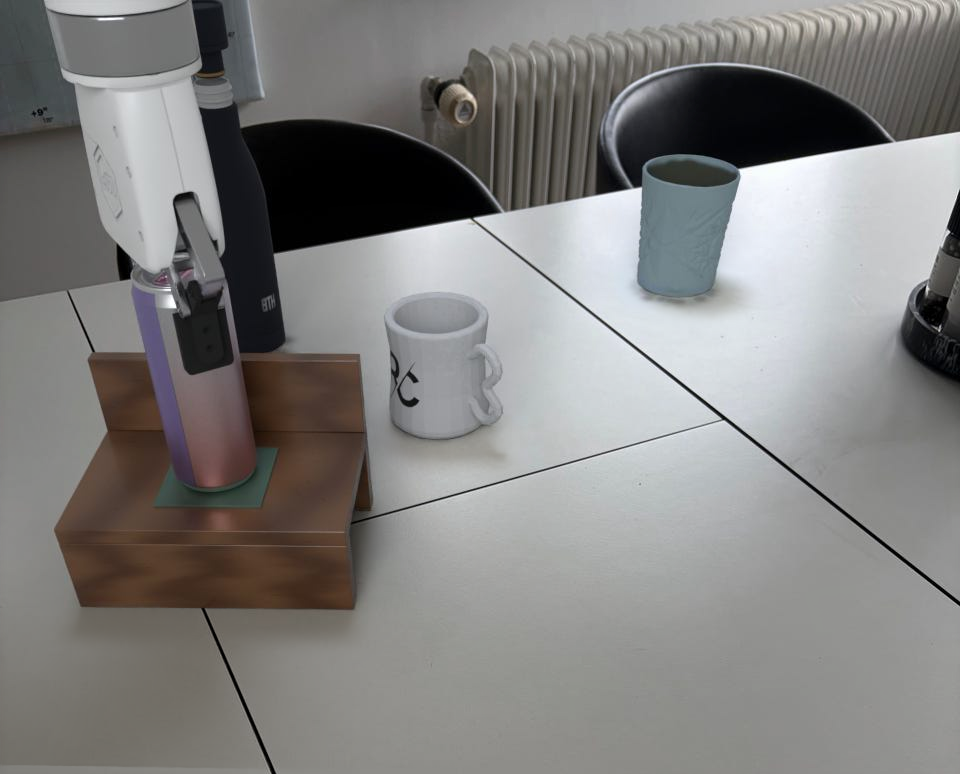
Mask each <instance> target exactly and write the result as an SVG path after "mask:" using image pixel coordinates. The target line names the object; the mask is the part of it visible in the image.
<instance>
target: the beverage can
mask: <svg viewBox="0 0 960 774" xmlns="http://www.w3.org/2000/svg"><path fill="white" fill-rule="evenodd" d="M189 258H190V256H189V254H188V252H177V253H174V258H173V262H176V261H180V260H185V259H189ZM179 273H180V276H181V279H182V283H183V286H184V289H185V292H186V289H187V285H188V282H189V281H192V280H194V279H195V278H194V269H190V270H186V271H182V272H179ZM130 280H131V284H132V285H131V291H130V295H131V299H132V302H133V307H134V311H135V315H136V319H137V323H138V327H139V328H138V329H139V332H140V336H141V340H142V345H143V349H144V352H145V353H146V357H147V362H148V366H149V370H150V374H151V378H152V383H153V387H154V391H155V395H156V399H157V404H158V408H159V412H160V416H161V420H162V425H163V429H164V433H165V437H166V441H167V446H168V450H169V454H170V458H171V462H172V467H173V471H174V474H175V476H176V477H177V478H178V479H179V480H180V481H181V482H182V483H183V484H184V485H186V486H187V487H189V488H191V489H194V490H197V491H201V492H220V491H225V490H229V489H232V488H235V487H237V486H239V485H241V484H243V483H244V482H246V481H247V480H248V479H249V478H250V477H251V475H252V474H253V472H254V470H255V468H256V465H257V461H258V459H257V453H256V447H255V441H254V435H253V430H252V424H251V418H250V412H249V406H248V401H247V395H246V389H245V383H244V377H243V372H242V366H241V360H240V354H239V348H238V342H237V337H236V331H235V325H234V319H233V313H232V308H231V302H230V296H229V290H228V284H227V281H226V279H225V280H224V283H223V287H224V289H223V290H222V291H223V295H224V298H225V303H226V307H225V310H226V315H227V321H228V327H229V332H230V338H231V343H232V349H233V355H234V362H233V363H232V364H231V365H228V366H224V367H221V368H217V369H214V370H210V371H207V372H203V373H199V374H196V375H189V374H188V373H187V372H186V371H185V370H184V367H183V362H182V358H181V353H180V348H179V344H178V339H177V334H176V330H175V325H174V320H173V316H172V314H173V313H177V312H178V311H177V308H176V305H175V302H174V299H173V295H172V292H171V289H170V286H169V283H168V279H167V276H166V273H165V270H164V269H161V272H160V273H158V274H152V273H150V272H148V271H146V270H145V269H143V268H142V267H141V266H140V265H139V264H138V265H137V266H136V267H135V268H134V267H133V269H132V270H131V272H130Z"/></svg>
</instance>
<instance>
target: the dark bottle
mask: <svg viewBox="0 0 960 774" xmlns="http://www.w3.org/2000/svg"><path fill="white" fill-rule="evenodd" d="M191 2H192V8H193V14H194V20H195V26H196V32H197V38H198V44H199V50H200V56H201V62H202V68H201V69H200V70H199V71H198V72H197V73H195V74H194V75H195V76H196V78H197V79H195V80H194V81H193V87H194V91H195V95H196V99H197V103H198V107H199V111H200V114H201V117H202V123H203V128H204V132H205V136H206V141H207V145H208V150H209V154H210V159H211V163H212V168H213V173H214V178H215V183H216V188H217V193H218V199H219V204H220V210H221V216H222V223H223V231H224V241H225V250H224V252H223V254H222V256H221V257H220V258H219V260H220V262H221V265H222V267H223V270H224V274H225V279H226V281H227V284H228V290H229V296H230V302H231V308H232V313H233V319H234V325H235V331H236V337H237V342H238V348H239V353H270V352H271V351H274V350H276V349H277V348H280V347H281V346H282V345H283V344H284V343H285V341H286V331H285V322H284V316H283V308H282V303H281V302H282V301H281V295H280V289H279V281H278V274H277V267H276V261H275V260H276V259H275V253H274V245H273V239H272V232H271V226H270V225H271V224H270V218H269V211H268V205H267V203H268V202H267V197H266V191H265V188H264V184H263V181H262V178H261V176H260V173H259V170H258V168H257V164H256V162H255V160H254V158H253V156H252V154H251V151H250V150H249V147H248V145H247V143H246V140H245V139H244V137H243V135H242V128H241V121H240V115H239V114H240V113H239V108H238V104H237V102H236V101H235V100H233V98H234V94H233V93H232V89H233V86H232V85H231V83H230V79H228V78H227V77H225V76H224V75H225V74H226V73H227V71H226V68H225V63H224V59H223V52H222V51H224V50H226V49H228V48H229V39H228V31H227V25H226V24H227V23H226V18H225V12H224V5H223V3H222V2H221V1H220V0H191Z"/></svg>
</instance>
